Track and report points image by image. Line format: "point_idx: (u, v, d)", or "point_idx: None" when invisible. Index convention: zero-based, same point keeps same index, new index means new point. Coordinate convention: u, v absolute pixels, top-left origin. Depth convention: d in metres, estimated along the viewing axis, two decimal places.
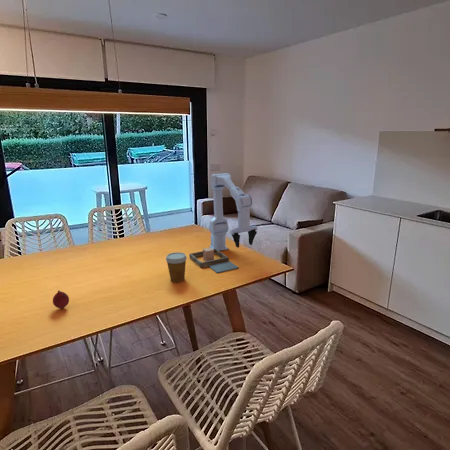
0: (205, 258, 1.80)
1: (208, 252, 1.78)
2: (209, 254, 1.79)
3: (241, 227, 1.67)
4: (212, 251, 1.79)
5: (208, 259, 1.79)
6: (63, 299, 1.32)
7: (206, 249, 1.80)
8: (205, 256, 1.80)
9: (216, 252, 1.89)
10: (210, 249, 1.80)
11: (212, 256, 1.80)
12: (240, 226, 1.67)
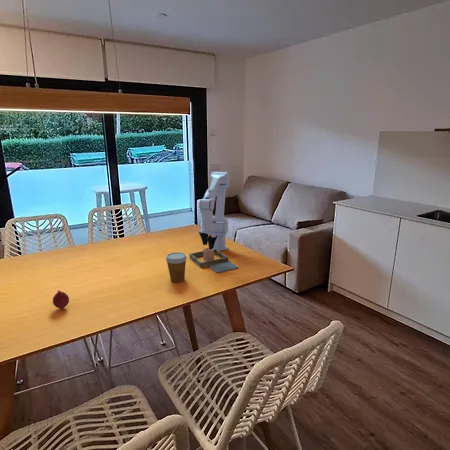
0: (205, 258, 1.80)
1: (208, 252, 1.78)
2: (209, 254, 1.79)
3: None
4: (212, 251, 1.79)
5: (208, 259, 1.79)
6: (62, 299, 1.32)
7: (206, 249, 1.80)
8: (205, 256, 1.80)
9: (216, 252, 1.89)
10: (210, 249, 1.80)
11: (212, 256, 1.80)
12: None
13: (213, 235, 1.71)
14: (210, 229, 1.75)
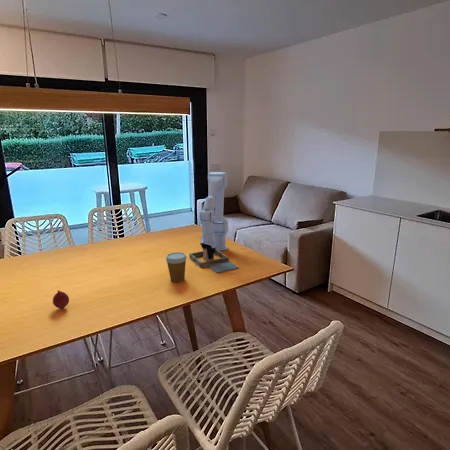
0: (205, 258, 1.80)
1: None
2: None
3: None
4: None
5: (208, 259, 1.79)
6: (63, 299, 1.32)
7: None
8: (205, 256, 1.80)
9: (216, 252, 1.89)
10: None
11: None
12: None
13: (213, 246, 1.73)
14: (210, 240, 1.77)
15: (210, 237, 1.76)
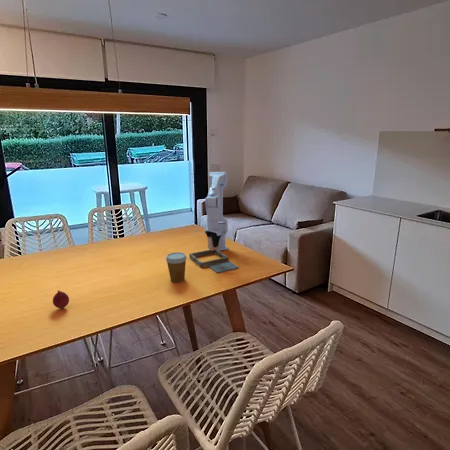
0: (210, 246, 1.74)
1: None
2: None
3: None
4: None
5: (213, 247, 1.73)
6: (63, 299, 1.32)
7: None
8: (210, 244, 1.74)
9: (216, 252, 1.89)
10: None
11: None
12: None
13: (219, 233, 1.67)
14: (216, 227, 1.70)
15: (215, 224, 1.70)
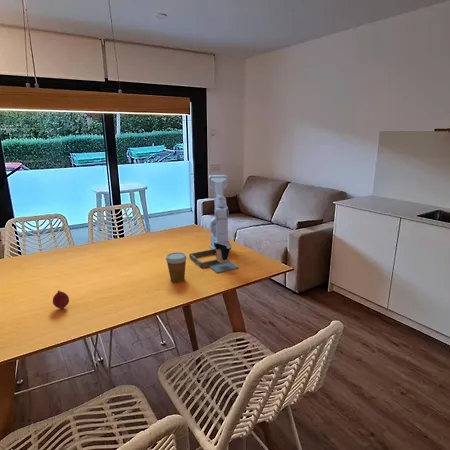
0: (219, 259, 1.69)
1: None
2: None
3: None
4: None
5: (222, 260, 1.68)
6: (63, 299, 1.32)
7: (220, 249, 1.70)
8: (219, 257, 1.69)
9: (216, 252, 1.89)
10: None
11: None
12: None
13: (229, 246, 1.62)
14: (225, 240, 1.66)
15: (225, 237, 1.65)
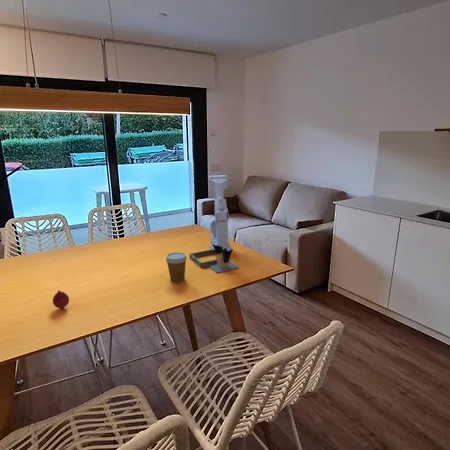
0: (219, 264, 1.70)
1: (222, 257, 1.68)
2: None
3: None
4: None
5: (222, 265, 1.69)
6: (63, 299, 1.32)
7: (220, 254, 1.70)
8: (219, 262, 1.70)
9: None
10: None
11: None
12: None
13: (229, 248, 1.63)
14: (225, 242, 1.66)
15: (225, 239, 1.66)
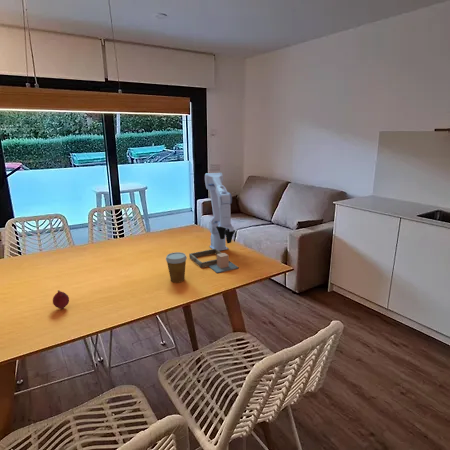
0: (219, 264, 1.70)
1: (222, 257, 1.68)
2: (223, 259, 1.69)
3: None
4: (226, 257, 1.69)
5: (222, 265, 1.69)
6: (63, 299, 1.32)
7: (220, 254, 1.70)
8: (219, 262, 1.70)
9: (216, 252, 1.89)
10: (224, 254, 1.70)
11: (226, 262, 1.70)
12: None
13: (231, 229, 1.74)
14: (228, 223, 1.77)
15: (228, 221, 1.77)
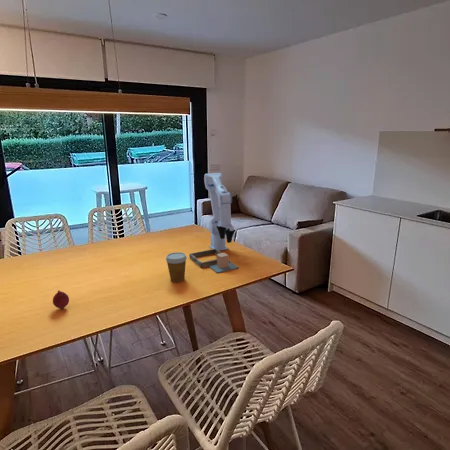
0: (219, 264, 1.70)
1: (222, 257, 1.68)
2: (223, 259, 1.69)
3: None
4: (226, 257, 1.69)
5: (222, 265, 1.69)
6: (63, 299, 1.32)
7: (220, 254, 1.70)
8: (219, 262, 1.70)
9: (216, 252, 1.89)
10: (224, 254, 1.70)
11: (226, 262, 1.70)
12: None
13: (231, 229, 1.74)
14: (228, 223, 1.78)
15: (228, 220, 1.77)
